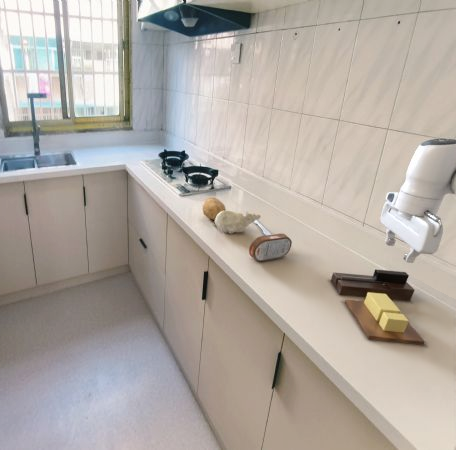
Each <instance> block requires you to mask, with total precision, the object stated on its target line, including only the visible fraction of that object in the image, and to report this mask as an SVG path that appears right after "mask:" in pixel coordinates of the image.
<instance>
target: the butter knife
mask: <svg viewBox="0 0 456 450" xmlns="http://www.w3.org/2000/svg"><path fill="white" fill-rule="evenodd" d="M247 212H248V213H250V214H252V212H249V211H247ZM253 223H254V224H257V226H258V227H259V228H260V229H261V230H262V232H263V234H264V236H265V235H273V233H271V232H270V231H269V230H268V229H266V228H265V227H264V226H263V224H262V223H260V221H258V220H255V221H254V222H253Z"/></svg>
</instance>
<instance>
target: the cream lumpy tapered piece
mask: <svg viewBox="0 0 456 450" xmlns="http://www.w3.org/2000/svg"><path fill="white" fill-rule="evenodd" d="M248 212H249V211H246V213H241V212H235V211H230V210H226V211H221V212H220V213H219V214H217V216H216V219H215V220H214V224H215V226H216V227H217V228H218V229H219V230H220V231H221V232H223V233H229V234H231V235H232V234H234V233H243V232H244V231H245V230H246V229H247V227H248V226H250V225H251V224H252V223H254V221H255V220H257V221H258V220H260V219H261V216H262V215H260V214H255V213H254V212H252V213H251V212H250V213H251V214H250V213H248Z"/></svg>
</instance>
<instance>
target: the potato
mask: <svg viewBox="0 0 456 450" xmlns="http://www.w3.org/2000/svg"><path fill="white" fill-rule="evenodd" d="M201 209H202V213H203V215H204V216H205V217H206V218H208V219H209V220H212V221H215V219H216V216H217V214H219V213H220V212H221V211H227V209H226V205H225V204H224V202H222V201H221V200H220V199H218V197H215V196H209V197H206V198H205V199H204V201H203V203H202V208H201Z"/></svg>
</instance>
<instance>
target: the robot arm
mask: <svg viewBox="0 0 456 450" xmlns="http://www.w3.org/2000/svg"><path fill="white" fill-rule="evenodd" d="M448 194H450V195H455V196H456V138H455V139H454V138H433V139H429V140H425V141H423V142H422V143H420V144H419V145H418V147H417V148H416V150H415V152H414V154H413V156H412V157H411V160H410V162H409V164H408V166H407V170H406V173H405V180H404V183H403V184H402V185H401V187H400V189H399V191H398V192H397V191H396V192H395V191H389V192H387V193H386V194H385V200H386V201H385V202H384V204H383V207H382V210H381V214H380V223H381V224H382V225H383V226H385V227H386V229H385V232H386V233H385V235H386V236H385V237H386V238H385V241H384V243H385V244H386V245H387V246H390V247H394V246H395V244H396V242H397V240H396V239H395V238H396V236H397V237H398V238H399V239H400V240H402V241H403V242H405V244H407V245H408V246H409V247H410V248H409V252H408V253H404V257H403V260H404V261H405V262H406V263H409V264H410V263H411V264H413V263H414V262H415V260H416V258H418V257H419V256H420V255H423V254H424V255H434V254H436V253H437V252H438V250H439V247H440V244H441V242H442V238H443V234H444V225H443V222H442V218H441V217H440V216H438V215H437V214H438V212H439V210H440V207H441V205H442V202H443V200H444V198H445V196H446V195H448Z"/></svg>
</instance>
